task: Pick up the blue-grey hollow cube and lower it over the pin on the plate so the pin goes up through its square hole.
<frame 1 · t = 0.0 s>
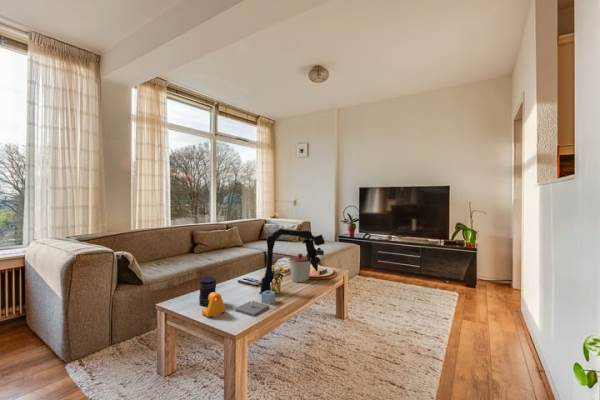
hand: (315, 269, 197), 15 cm above the table, tool pointing down, fingers open, 9 cm apart
blue-grey hollow cube: (268, 302, 177), on the table
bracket: (213, 313, 160), on the table
pin plate: (252, 309, 166), on the table
canister: (299, 280, 221), on the table
storage jar: (207, 303, 174), on the table
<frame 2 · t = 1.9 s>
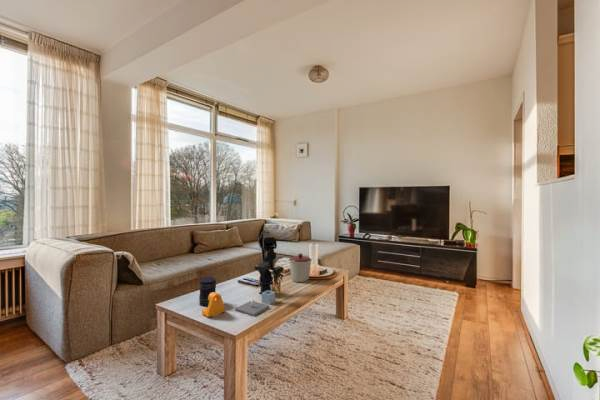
hand: (268, 281, 177), 13 cm above the table, tool pointing down, fingers open, 9 cm apart
nothing on the table moved.
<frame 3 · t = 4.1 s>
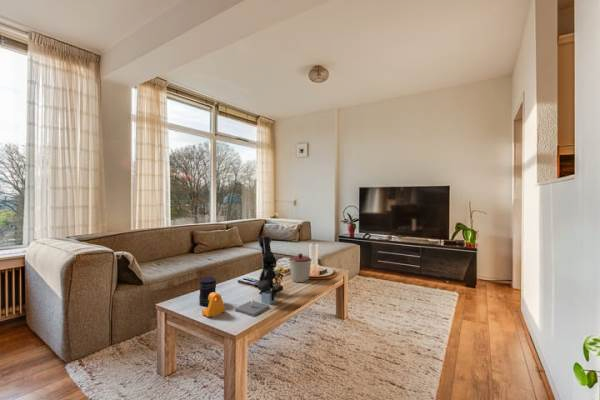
hand: (268, 299, 177), 1 cm above the table, tool pointing down, fingers closed on blue-grey hollow cube, 6 cm apart
blue-grey hollow cube: (268, 302, 177), on the table, touching gripper
everything else where it was.
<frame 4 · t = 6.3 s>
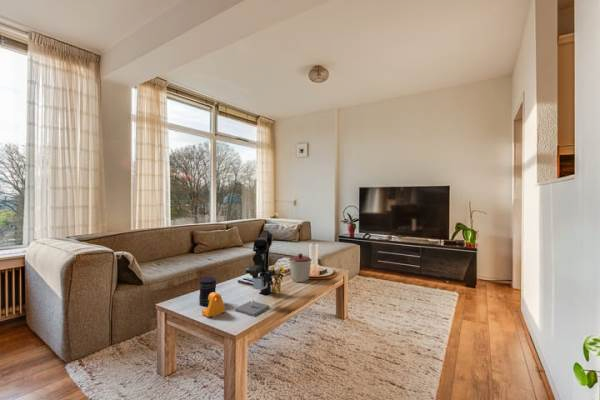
hand: (260, 285, 170), 12 cm above the table, tool pointing down, fingers closed on blue-grey hollow cube, 6 cm apart
blue-grey hollow cube: (260, 287, 170), point 11 cm above the table, touching gripper
everything else where it was.
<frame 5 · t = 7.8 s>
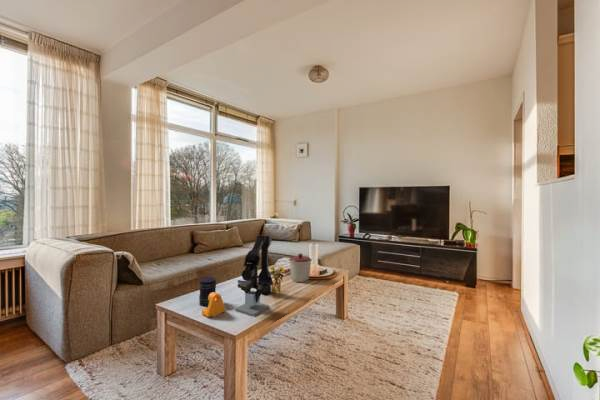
hand: (252, 301, 166), 5 cm above the table, tool pointing down, fingers closed on blue-grey hollow cube, 6 cm apart
blue-grey hollow cube: (252, 303, 166), point 4 cm above the table, touching gripper
everything else where it was.
when the fingers open (4 cm above the table, at t = 8.8 s): blue-grey hollow cube drops 1 cm, resting on pin plate.
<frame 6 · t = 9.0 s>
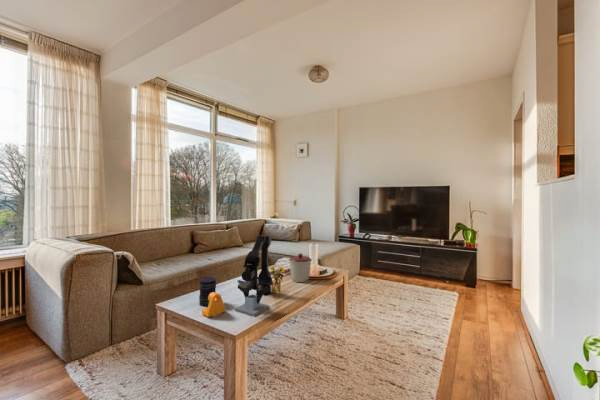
hand: (252, 302, 166), 4 cm above the table, tool pointing down, fingers open, 8 cm apart
blue-grey hollow cube: (252, 306, 166), point 1 cm above the table, touching pin plate
everything else where it was.
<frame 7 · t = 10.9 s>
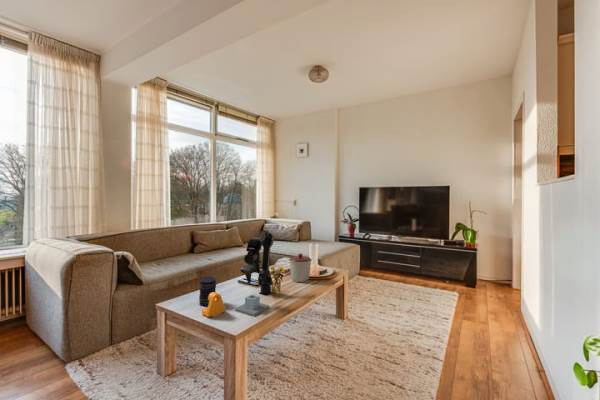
hand: (255, 284, 171), 13 cm above the table, tool pointing down, fingers open, 9 cm apart
nothing on the table moved.
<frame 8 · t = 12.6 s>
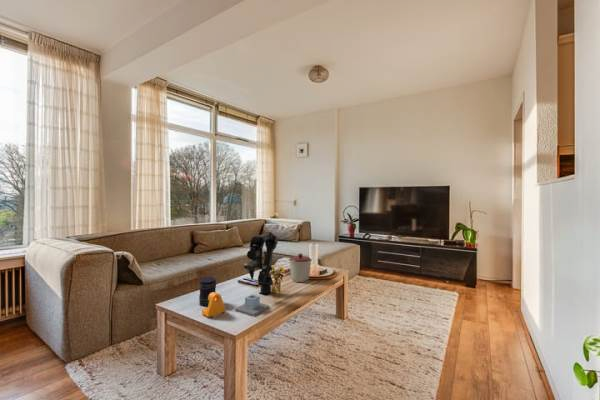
hand: (257, 280, 179), 13 cm above the table, tool pointing down, fingers open, 9 cm apart
nothing on the table moved.
at the end: blue-grey hollow cube 0.0 cm off-centre on the pin plate, point 1.5 cm above the pin plate's base; blue-grey hollow cube tilted 0°; the gripper is holding nothing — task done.
